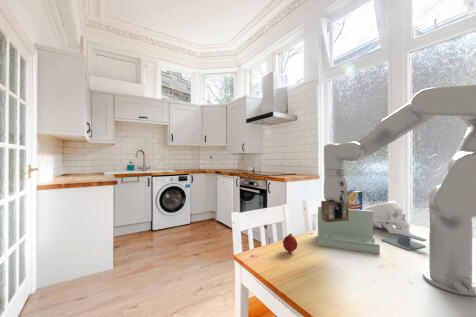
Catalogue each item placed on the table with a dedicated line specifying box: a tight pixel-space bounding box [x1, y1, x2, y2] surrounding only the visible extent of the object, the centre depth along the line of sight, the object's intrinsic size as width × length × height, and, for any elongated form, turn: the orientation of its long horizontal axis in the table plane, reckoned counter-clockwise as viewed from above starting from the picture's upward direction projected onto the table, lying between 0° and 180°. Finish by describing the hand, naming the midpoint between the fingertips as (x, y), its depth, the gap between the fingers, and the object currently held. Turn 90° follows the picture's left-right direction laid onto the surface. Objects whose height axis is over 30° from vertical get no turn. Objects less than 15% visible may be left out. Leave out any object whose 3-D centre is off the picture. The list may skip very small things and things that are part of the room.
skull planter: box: [364, 200, 412, 235], centre depth 117 cm, size 14×20×19 cm
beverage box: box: [347, 189, 363, 210], centre depth 113 cm, size 7×11×22 cm, turn 115°
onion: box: [282, 233, 298, 253], centre depth 88 cm, size 6×6×8 cm
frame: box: [320, 200, 349, 222], centre depth 88 cm, size 4×10×8 cm, turn 99°
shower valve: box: [381, 232, 427, 252], centre depth 97 cm, size 12×6×15 cm
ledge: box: [317, 205, 381, 255], centre depth 97 cm, size 13×24×15 cm, turn 69°
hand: (335, 216), depth 88 cm, fingers closed on frame, 3 cm apart
